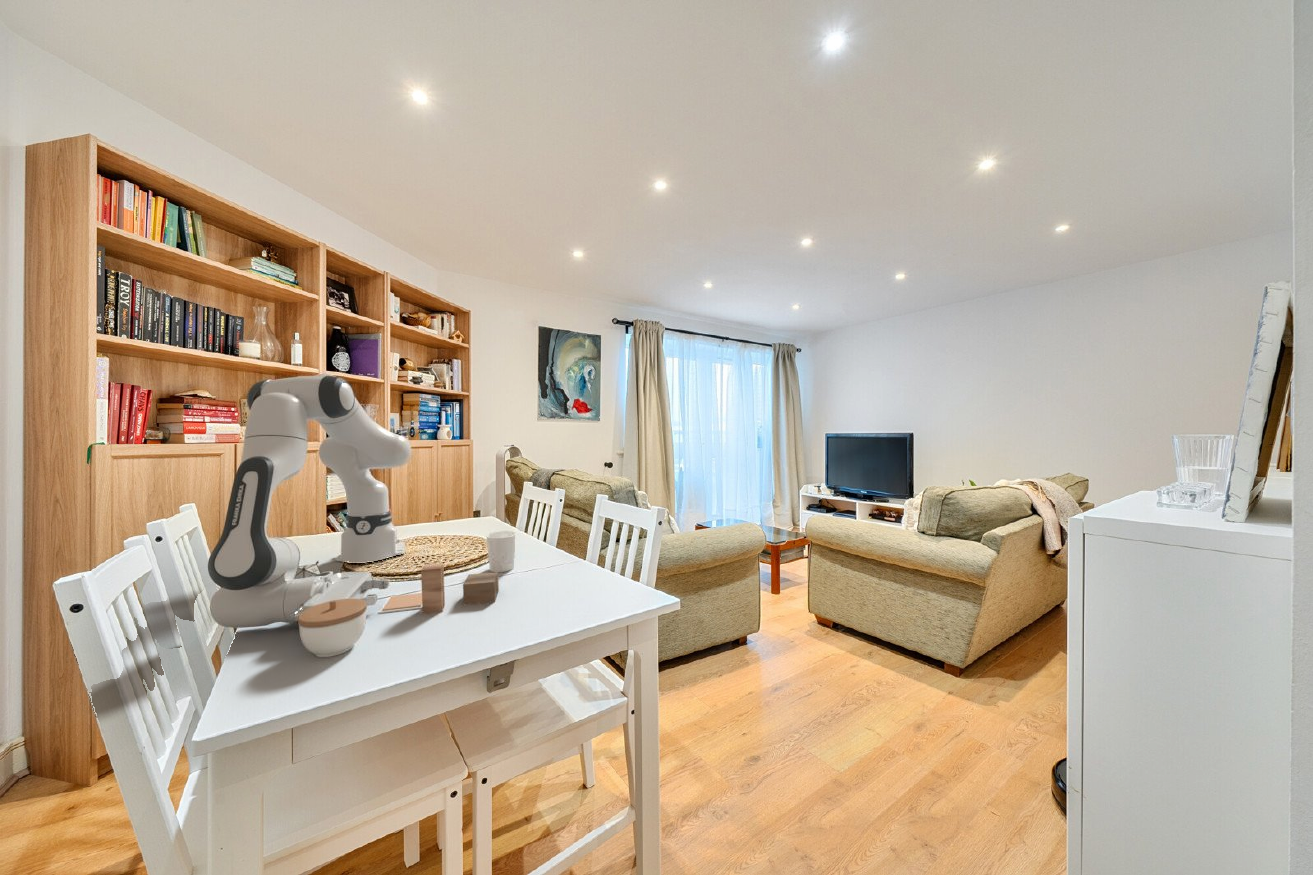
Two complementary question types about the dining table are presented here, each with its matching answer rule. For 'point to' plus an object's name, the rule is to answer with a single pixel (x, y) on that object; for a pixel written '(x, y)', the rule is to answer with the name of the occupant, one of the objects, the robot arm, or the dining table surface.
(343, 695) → the dining table surface
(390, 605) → the swatch tile
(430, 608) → the cherry post
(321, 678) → the dining table surface
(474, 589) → the walnut block
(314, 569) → the grey icosahedron model
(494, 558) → the white cup
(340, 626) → the lidded jar
